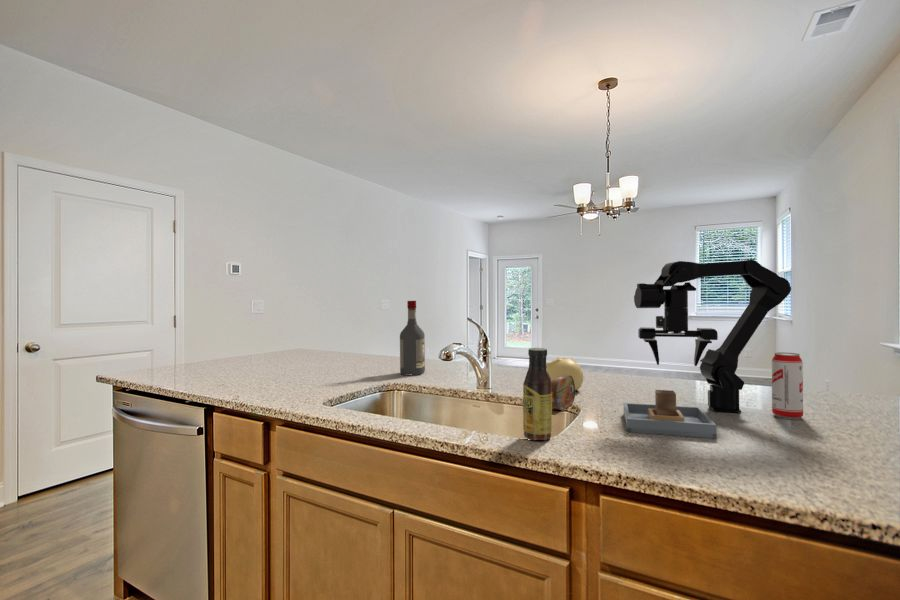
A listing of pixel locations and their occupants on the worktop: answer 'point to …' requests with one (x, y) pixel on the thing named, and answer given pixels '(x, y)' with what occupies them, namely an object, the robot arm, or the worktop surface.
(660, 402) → the brown rectangular block
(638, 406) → the box
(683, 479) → the worktop surface
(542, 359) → the sauce bottle
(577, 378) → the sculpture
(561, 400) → the tin
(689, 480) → the worktop surface
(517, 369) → the worktop surface
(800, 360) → the beer can
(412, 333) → the liquor
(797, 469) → the worktop surface
